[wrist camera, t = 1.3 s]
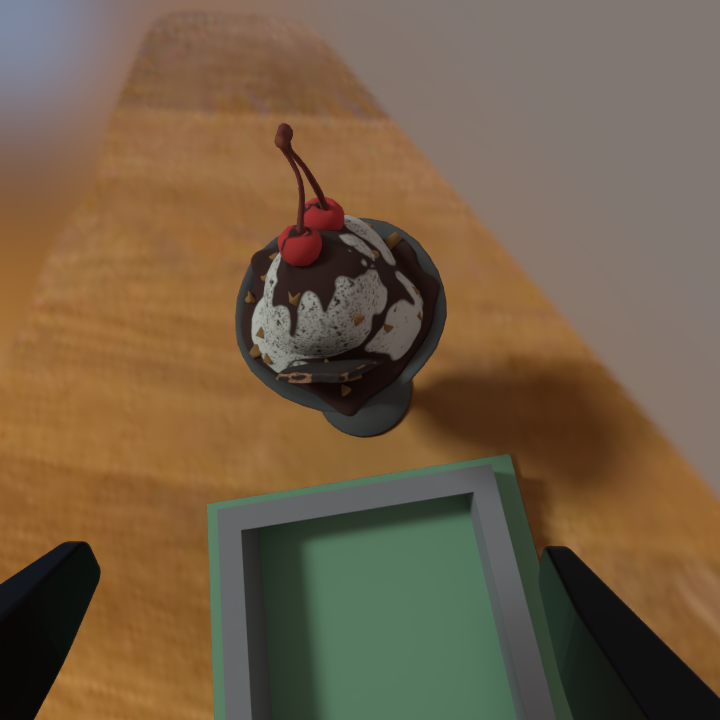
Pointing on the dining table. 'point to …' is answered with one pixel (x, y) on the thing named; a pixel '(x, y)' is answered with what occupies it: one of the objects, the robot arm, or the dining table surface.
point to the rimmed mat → (382, 601)
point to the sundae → (340, 312)
